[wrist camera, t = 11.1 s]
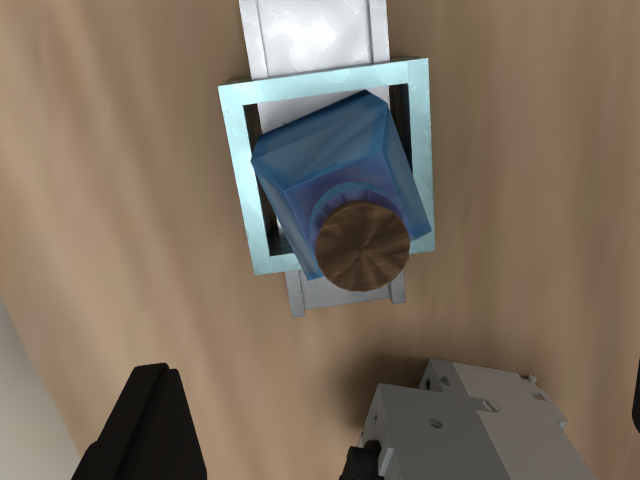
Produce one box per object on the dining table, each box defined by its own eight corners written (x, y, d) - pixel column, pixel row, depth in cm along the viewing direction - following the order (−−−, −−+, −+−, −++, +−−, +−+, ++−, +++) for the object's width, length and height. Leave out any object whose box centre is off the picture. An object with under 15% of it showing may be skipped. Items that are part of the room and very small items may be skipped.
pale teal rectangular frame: (404, -27, 25) (424, -39, 21) (420, 281, 32) (437, 313, 28) (212, -1, 25) (199, -9, 21) (269, 302, 32) (266, 336, 28)
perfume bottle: (365, 89, 26) (422, 124, 15) (403, 192, 28) (477, 291, 17) (258, 135, 26) (235, 203, 15) (304, 233, 29) (313, 354, 17)
